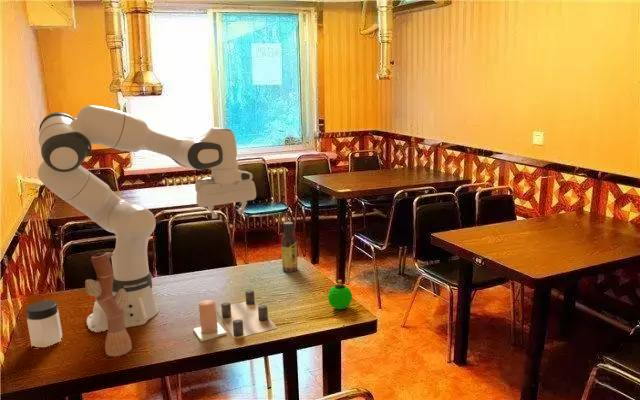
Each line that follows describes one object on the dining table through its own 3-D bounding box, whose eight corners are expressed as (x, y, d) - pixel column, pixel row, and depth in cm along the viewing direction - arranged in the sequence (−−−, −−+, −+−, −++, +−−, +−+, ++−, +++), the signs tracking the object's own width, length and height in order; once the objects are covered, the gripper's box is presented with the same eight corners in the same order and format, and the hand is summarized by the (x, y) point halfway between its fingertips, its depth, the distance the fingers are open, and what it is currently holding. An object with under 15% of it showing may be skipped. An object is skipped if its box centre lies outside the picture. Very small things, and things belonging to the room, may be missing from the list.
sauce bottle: (295, 273, 205) (293, 225, 201) (280, 272, 206) (278, 225, 202) (299, 267, 211) (297, 221, 207) (285, 266, 213) (282, 220, 208)
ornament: (349, 314, 167) (348, 286, 165) (325, 312, 170) (324, 284, 167) (354, 304, 175) (354, 277, 173) (332, 302, 177) (331, 275, 175)
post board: (234, 340, 154) (233, 325, 153) (215, 309, 175) (214, 296, 174) (277, 329, 160) (277, 315, 158) (254, 301, 181) (253, 288, 180)
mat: (200, 341, 153) (200, 339, 153) (193, 330, 160) (193, 328, 159) (226, 334, 157) (226, 332, 156) (218, 324, 163) (217, 322, 163)
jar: (56, 332, 161) (51, 297, 159) (68, 340, 156) (62, 304, 153) (26, 344, 155) (19, 307, 152) (37, 352, 150) (31, 314, 147)
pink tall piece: (133, 341, 154) (121, 247, 147) (134, 352, 148) (122, 254, 141) (95, 349, 151) (81, 252, 144) (95, 361, 144) (80, 260, 137)
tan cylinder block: (203, 335, 155) (201, 308, 153) (199, 329, 159) (196, 302, 157) (219, 331, 157) (217, 304, 155) (214, 325, 161) (212, 298, 159)
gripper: (197, 181, 163) (201, 222, 166) (256, 173, 173) (259, 213, 176) (191, 178, 168) (195, 218, 172) (249, 171, 178) (252, 209, 181)
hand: (228, 215), depth 174 cm, fingers open, 8 cm apart
